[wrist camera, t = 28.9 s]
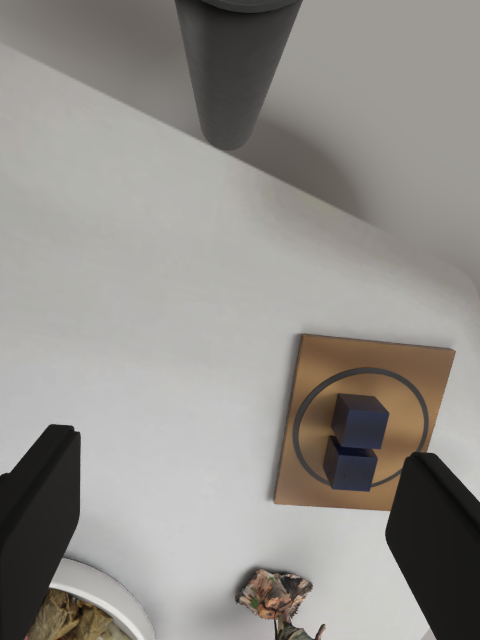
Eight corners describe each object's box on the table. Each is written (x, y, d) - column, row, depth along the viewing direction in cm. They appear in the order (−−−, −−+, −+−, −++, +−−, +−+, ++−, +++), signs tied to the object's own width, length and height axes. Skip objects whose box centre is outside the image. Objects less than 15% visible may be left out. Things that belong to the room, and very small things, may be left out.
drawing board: (301, 333, 37) (303, 336, 36) (451, 348, 39) (457, 352, 38) (273, 498, 42) (274, 505, 41) (406, 507, 44) (410, 513, 43)
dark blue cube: (337, 392, 38) (349, 409, 35) (375, 396, 38) (390, 413, 35) (330, 427, 39) (341, 446, 36) (367, 429, 39) (380, 449, 36)
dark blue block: (328, 435, 39) (339, 455, 36) (365, 437, 40) (378, 458, 36) (322, 467, 40) (331, 489, 37) (357, 469, 41) (369, 492, 37)
